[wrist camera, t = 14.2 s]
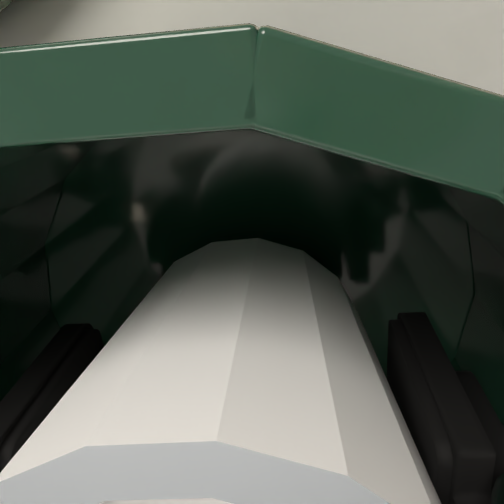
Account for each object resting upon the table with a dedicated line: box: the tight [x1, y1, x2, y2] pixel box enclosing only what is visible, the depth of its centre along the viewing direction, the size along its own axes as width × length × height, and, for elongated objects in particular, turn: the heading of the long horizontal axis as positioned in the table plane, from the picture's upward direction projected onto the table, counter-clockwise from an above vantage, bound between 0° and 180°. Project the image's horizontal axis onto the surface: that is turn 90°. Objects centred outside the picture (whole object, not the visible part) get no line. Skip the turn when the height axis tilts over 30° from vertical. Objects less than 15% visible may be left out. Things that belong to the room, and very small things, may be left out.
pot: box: [0, 23, 504, 427], centre depth 11 cm, size 14×14×9 cm
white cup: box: [0, 238, 441, 504], centre depth 9 cm, size 7×7×7 cm
